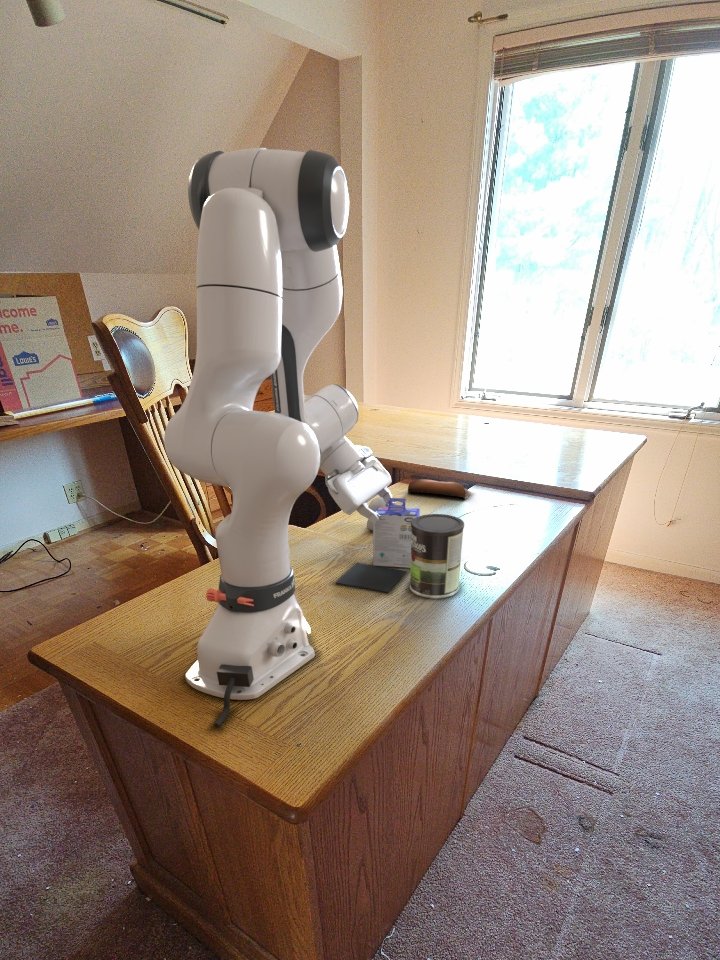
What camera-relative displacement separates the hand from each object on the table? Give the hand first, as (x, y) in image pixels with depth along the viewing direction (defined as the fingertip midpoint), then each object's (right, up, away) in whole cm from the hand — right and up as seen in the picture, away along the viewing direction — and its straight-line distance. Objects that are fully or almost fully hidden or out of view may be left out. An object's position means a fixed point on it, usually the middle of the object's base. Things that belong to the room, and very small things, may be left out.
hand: (385, 514), depth 123 cm
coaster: (-3, -14, -2) cm, 15 cm away
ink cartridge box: (+3, -10, +5) cm, 12 cm away
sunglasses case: (+19, +17, +48) cm, 54 cm away
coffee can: (+10, -17, -6) cm, 21 cm away
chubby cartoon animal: (+2, 0, +22) cm, 22 cm away
